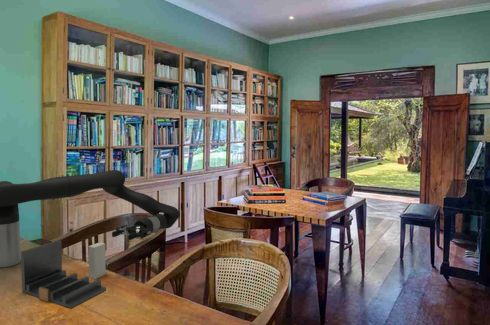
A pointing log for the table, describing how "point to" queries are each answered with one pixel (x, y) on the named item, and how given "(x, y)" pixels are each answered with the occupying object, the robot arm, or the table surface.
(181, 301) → the table surface
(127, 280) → the table surface
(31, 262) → the rack
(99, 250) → the light grey block
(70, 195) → the robot arm
